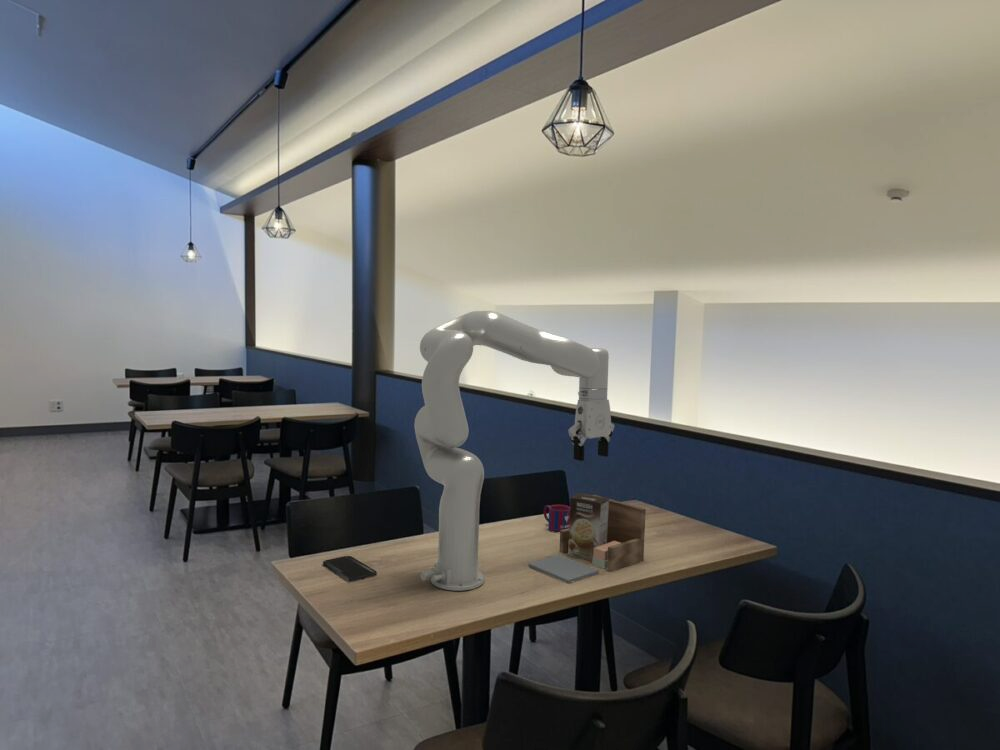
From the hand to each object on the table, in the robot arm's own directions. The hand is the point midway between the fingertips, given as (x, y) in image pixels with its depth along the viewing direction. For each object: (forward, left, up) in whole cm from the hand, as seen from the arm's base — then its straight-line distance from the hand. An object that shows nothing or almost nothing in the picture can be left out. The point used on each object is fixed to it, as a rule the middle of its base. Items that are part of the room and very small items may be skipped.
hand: (591, 457), depth 177 cm
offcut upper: (0, -7, -25) cm, 26 cm away
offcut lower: (+1, -7, -27) cm, 28 cm away
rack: (+2, -3, -27) cm, 27 cm away
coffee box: (0, 0, -27) cm, 27 cm away
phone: (-56, +28, -27) cm, 69 cm away
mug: (+11, +22, -27) cm, 37 cm away
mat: (-13, -4, -27) cm, 30 cm away
